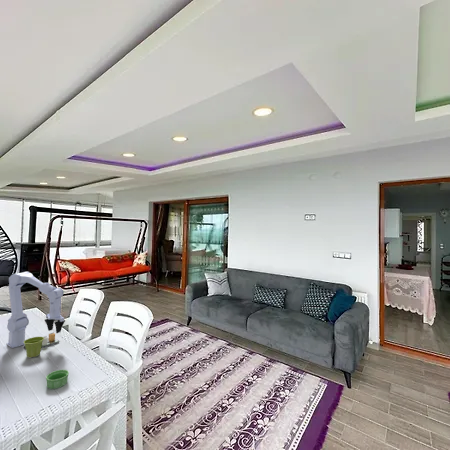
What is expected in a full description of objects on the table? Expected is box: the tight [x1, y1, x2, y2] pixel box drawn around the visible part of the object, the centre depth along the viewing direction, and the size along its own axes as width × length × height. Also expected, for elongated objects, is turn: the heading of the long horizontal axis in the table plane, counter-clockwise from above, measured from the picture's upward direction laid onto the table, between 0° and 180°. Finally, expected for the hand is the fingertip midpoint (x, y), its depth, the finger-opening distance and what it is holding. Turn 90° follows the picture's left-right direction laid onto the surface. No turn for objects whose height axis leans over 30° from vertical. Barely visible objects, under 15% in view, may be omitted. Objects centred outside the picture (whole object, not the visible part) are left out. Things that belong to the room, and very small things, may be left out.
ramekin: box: [45, 369, 70, 390], centre depth 122 cm, size 9×9×4 cm
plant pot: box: [24, 336, 44, 358], centre depth 149 cm, size 9×9×9 cm
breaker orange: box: [48, 332, 56, 341], centre depth 166 cm, size 3×3×4 cm
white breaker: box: [42, 335, 49, 345], centre depth 160 cm, size 3×3×4 cm
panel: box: [23, 337, 60, 350], centre depth 162 cm, size 10×15×2 cm, turn 146°
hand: (54, 331), depth 159 cm, fingers open, 7 cm apart
